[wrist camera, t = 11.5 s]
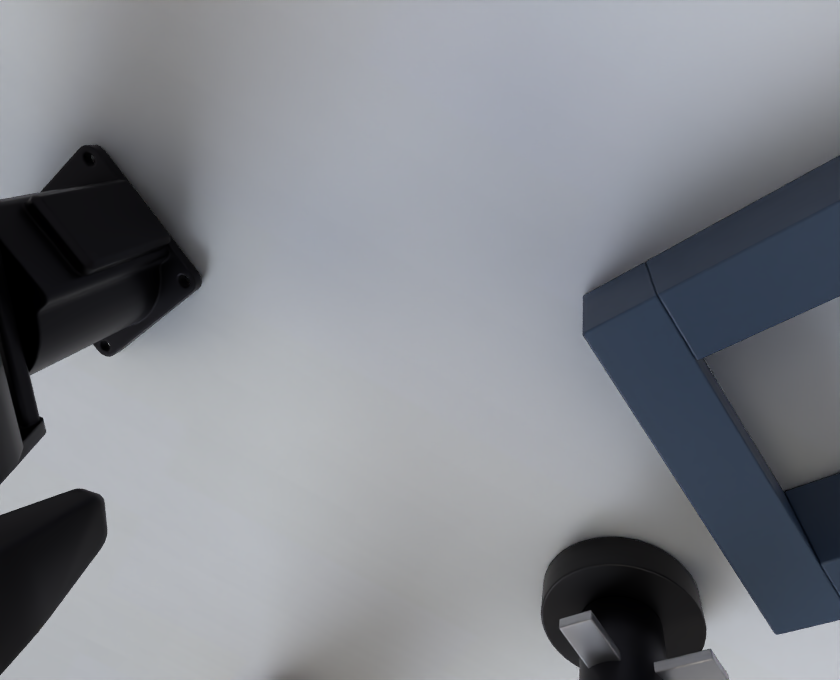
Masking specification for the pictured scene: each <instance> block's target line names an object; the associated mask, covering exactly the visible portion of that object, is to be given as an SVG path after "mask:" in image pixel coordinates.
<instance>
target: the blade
mask: <svg viewBox="0 0 840 680" xmlns="http://www.w3.org/2000/svg"><path fill="white" fill-rule="evenodd" d="M541 619H542V624H543V627H544V630H545V632H546V635H547V637H548V638H549V640H550V642H551V643H552V645H553V646H554V647H555V648H556V649H557V651H558V652H559V653H560V654H562V655H563V656H564V657H565V658H566V659H567V660H569V661H570V662H571V663H573V664H574V665H576V666H578V667H579V668H580V669H579V680H729V676H728V674H727V672H726V671H725V669H724V668H723V666H722V665H721V663H720V662H719V660H718V659H717V657H716V656H715V654H714V653H713V651H712V650H711V649H707V650H703V651H702V649H703V647H704V644H705V640H706V623H705V618H704V614H703V610H702V605H701V601H700V596H699V592H698V589H697V586H696V584H695V582H694V580H693V578H692V577H691V575H690V574H689V572H688V571H687V570H686V569H685V568H684V567H683V566H682V565H681V564H680V563H679V562H678V561H677V560H676V559H675V558H673V557H672V556H671V555H669V554H668V553H666V552H664V551H663V550H661V549H659V548H657V547H655V546H652V545H650V544H647V543H644V542H641V541H637V540H633V539H627V538H619V537H604V538H595V539H589V540H586V541H582V542H579V543H577V544H575V545H572V546H571V547H569V548H567V549H565V550H564V551H563V552H561V553H560V554H559V555H558V556H557V557H556V558H555V559H554V560H553V561H552V563H551V564H550V566H549V567H548V569H547V572H546V574H545V578H544V583H543V594H542V606H541Z"/></svg>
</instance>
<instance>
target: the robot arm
mask: <svg viewBox="0 0 840 680" xmlns="http://www.w3.org/2000/svg"><path fill="white" fill-rule="evenodd" d="M92 155H93V156H94V158H95V163H94V162H93V160H92ZM185 276H187V277H188V279H189V281H190V284H188V283H187V282H186V280H185ZM200 286H201V276H200V274H199V273H198V271H197V270H196V268H195V267H194V266H193V265H192V263H191V262H190V261H189V259H188V258H187V257H186V255H185V254H184V253H183V252H182V250H181V249H180V248H179V246H178V245H177V244H176V242H175V241H174V240H173V239H172V237H171V236H170V235H169V233H168V232H167V231H166V229H165V228H164V227H163V226H162V224H161V223H160V222H159V220H158V219H157V218H156V216H155V215H154V214H153V213H152V211H151V210H150V209H149V207H148V206H147V205H146V203H145V202H144V201H143V200H142V198H141V197H140V196H139V194H138V193H137V192H136V190H135V189H134V188H133V187H132V185H131V184H130V183H129V181H128V180H127V179H126V177H125V176H124V175H123V174H122V172H121V171H120V170H119V168H118V167H117V166H116V164H115V163H114V162H113V161H112V159H111V158H110V157H109V155H108V154H107V153H106V151H105V150H104V149H103V148H102V147H101V146H98V145H84V146H82V147H81V148H80V149H79V150H78V151H77V152H76V153H75V154H74V155H73V156H72V157H71V159H70V160H69V161H68V162H67V163H66V164H65V165H64V166H63V168H62V169H61V170H60V171H59V172H58V173H57V174H56V175H55V176H54V178H53V179H52V180H51V181H50V182H49V183H48V184H47V185H46V187H45V188H44V189H43V190H42V191H41V192H40V193H34V194H28V195H23V196H17V197H11V198H5V199H0V484H1V483H2V482H3V481H4V480H5V479H6V477H7V476H8V475H9V474H10V473H11V472H12V471H13V470H14V469H15V467H16V466H17V465H18V464H19V463H20V462H21V461H22V459H23V458H24V457H25V456H26V455H27V454H28V453H29V452H30V450H31V449H32V448H33V447H34V446H35V445H36V444H37V443H38V442H39V440H40V439H41V438H42V437H43V436H44V435H45V433H46V429H45V425H44V420H43V418H42V417H39V413H38V409H37V405H36V400H35V396H34V392H33V388H32V383H31V379H30V375H32V374H34V373H36V372H38V371H40V370H42V369H44V368H46V367H48V366H50V365H52V364H54V363H56V362H58V361H60V360H62V359H64V358H66V357H68V356H70V355H72V354H74V353H76V352H78V351H80V350H82V349H84V348H86V347H88V346H90V345H92V344H93V345H94V346H95V347H96V348H97V350H98V351H99V352H100V353H101V354H102V355H105V356H109V357H110V356H113V355H115V354H116V353H118V352H120V351H121V350H122V349H124V348H125V347H126V346H127V345H129V344H130V343H131V342H132V341H134V340H135V339H136V338H137V337H139V336H140V335H141V334H142V333H144V332H145V331H146V330H147V329H149V328H150V327H151V326H152V325H154V324H155V323H156V322H157V321H159V320H160V319H161V318H162V317H164V316H165V315H166V314H167V313H169V312H170V311H171V310H172V309H174V308H175V307H176V306H177V305H179V304H180V303H181V302H182V301H184V300H185V299H186V298H187V297H189V296H190V295H191V294H192V293H194V292H195V291H196V290H197V289H199V287H200ZM107 342H108V343H109V345H110V346H109V345H108V343H107ZM106 537H107V522H106V512H105V502H104V499H103V497H102V496H101V495H99V494H97V493H94V492H91V491H88V490H85V489H74V490H71V491H68V492H65V493H62V494H59V495H56V496H53V497H51V498H48V499H45V500H42V501H39V502H36V503H34V504H31V505H28V506H25V507H22V508H19V509H17V510H14V511H11V512H8V513H5V514H2V515H0V675H1V674H2V673H3V672H4V670H5V669H6V668H7V667H8V666H9V665H10V664H11V663H12V661H13V660H14V659H15V658H16V657H17V656H18V655H19V654H20V652H21V651H22V650H23V649H24V648H25V647H26V646H27V644H28V643H29V642H30V641H31V640H32V639H33V637H34V636H35V635H36V634H37V633H38V632H39V630H40V629H41V628H42V627H43V625H44V624H45V623H46V621H47V620H48V619H49V618H50V616H51V615H52V614H53V612H54V611H55V610H56V608H57V607H58V606H59V604H60V603H61V602H62V600H63V599H64V598H65V596H66V595H67V594H68V592H69V591H70V590H71V588H72V587H73V585H74V584H75V583H76V581H77V580H78V579H79V577H80V576H81V575H82V573H83V572H84V571H85V569H86V568H87V567H88V565H89V564H90V563H91V561H92V560H93V559H94V557H95V556H96V555H97V553H98V552H99V551H100V549H101V548H102V546H103V544H104V542H105V540H106Z"/></svg>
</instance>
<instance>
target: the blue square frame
mask: <svg viewBox="0 0 840 680" xmlns="http://www.w3.org/2000/svg"><path fill="white" fill-rule="evenodd" d="M839 296H840V156H838V157H836V158H834V159H832V160H831V161H829V162H827V163H825V164H823V165H822V166H820V167H818V168H816V169H814V170H812V171H811V172H809V173H807V174H805V175H803V176H801V177H800V178H798V179H796V180H794V181H792V182H790V183H789V184H787V185H785V186H783V187H781V188H779V189H778V190H776V191H774V192H772V193H770V194H768V195H767V196H765V197H763V198H761V199H759V200H758V201H756V202H754V203H752V204H750V205H748V206H747V207H745V208H743V209H741V210H739V211H737V212H736V213H734V214H732V215H730V216H728V217H726V218H725V219H723V220H721V221H719V222H717V223H715V224H714V225H712V226H710V227H708V228H706V229H704V230H703V231H701V232H699V233H697V234H695V235H694V236H692V237H690V238H688V239H686V240H684V241H683V242H681V243H679V244H677V245H675V246H673V247H672V248H670V249H668V250H666V251H664V252H662V253H661V254H659V255H657V256H655V257H653V258H651V259H650V260H648V261H647V262H646V264H645V263H642V264H640V265H639V266H637V267H635V268H633V269H631V270H629V271H628V272H626V273H624V274H622V275H620V276H619V277H617V278H615V279H613V280H611V281H609V282H608V283H606V284H604V285H602V286H600V287H598V288H597V289H595V290H593V291H591V292H589V293H587V294H586V295H584V296H583V336H584V338H585V339H586V341H587V342H588V344H589V345H590V347H591V349H592V350H593V352H594V353H595V355H596V356H597V358H598V359H599V361H600V363H601V364H602V366H603V367H604V369H605V370H606V372H607V373H608V375H609V377H610V378H611V380H612V381H613V383H614V384H615V386H616V387H617V389H618V391H619V392H620V394H621V395H622V397H623V398H624V400H625V401H626V403H627V405H628V406H629V408H630V409H631V411H632V412H633V414H634V415H635V417H636V419H637V420H638V422H639V423H640V425H641V426H642V428H643V429H644V431H645V433H646V434H647V436H648V437H649V439H650V440H651V442H652V443H653V445H654V447H655V448H656V450H657V451H658V453H659V454H660V456H661V457H662V459H663V461H664V462H665V464H666V465H667V467H668V468H669V470H670V471H671V473H672V475H673V476H674V478H675V479H676V481H677V482H678V484H679V485H680V487H681V489H682V490H683V492H684V493H685V495H686V496H687V498H688V499H689V501H690V503H691V504H692V506H693V507H694V509H695V510H696V512H697V513H698V515H699V517H700V518H701V520H702V521H703V523H704V524H705V526H706V527H707V529H708V531H709V532H710V534H711V535H712V537H713V538H714V540H715V541H716V543H717V545H718V546H719V548H720V549H721V551H722V552H723V554H724V556H725V557H726V559H727V560H728V562H729V563H730V565H731V566H732V568H733V570H734V571H735V573H736V574H737V576H738V577H739V579H740V580H741V582H742V584H743V585H744V587H745V588H746V590H747V591H748V593H749V594H750V596H751V598H752V599H753V601H754V602H755V604H756V605H757V607H758V608H759V610H760V612H761V613H762V615H763V616H764V618H765V619H766V621H767V622H768V624H769V626H770V627H771V629H772V630H773V632H774V633H775V634H776V635H778V634H782V633H787V632H791V631H795V630H799V629H804V628H808V627H812V626H816V625H820V624H825V623H829V622H833V621H837V620H840V473H839V474H836V475H833V476H830V477H827V478H824V479H821V480H818V481H815V482H812V483H809V484H806V485H803V486H800V487H797V488H794V489H791V490H788V491H786V492H785V494H784V492H783V490H782V489H781V487H780V485H779V484H778V482H777V480H776V479H775V477H774V475H773V474H772V472H771V470H770V469H769V467H768V465H767V464H766V462H765V460H764V459H763V457H762V456H761V454H760V452H759V451H758V449H757V447H756V446H755V444H754V442H753V441H752V439H751V437H750V436H749V434H748V432H747V431H746V429H745V427H744V426H743V424H742V422H741V421H740V419H739V417H738V416H737V414H736V412H735V411H734V409H733V407H732V406H731V404H730V402H729V401H728V399H727V397H726V396H725V394H724V392H723V391H722V389H721V387H720V386H719V384H718V382H717V381H716V379H715V378H714V376H713V374H712V373H711V371H710V369H709V368H708V366H707V364H706V363H705V361H704V359H703V358H704V357H706V356H709V355H711V354H713V353H715V352H717V351H720V350H722V349H724V348H726V347H728V346H731V345H733V344H735V343H737V342H739V341H742V340H744V339H746V338H748V337H750V336H753V335H755V334H757V333H759V332H761V331H764V330H766V329H768V328H770V327H773V326H775V325H777V324H779V323H781V322H784V321H786V320H788V319H790V318H792V317H795V316H797V315H799V314H801V313H803V312H806V311H808V310H810V309H812V308H814V307H817V306H819V305H821V304H823V303H825V302H828V301H830V300H832V299H834V298H836V297H839Z"/></svg>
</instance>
